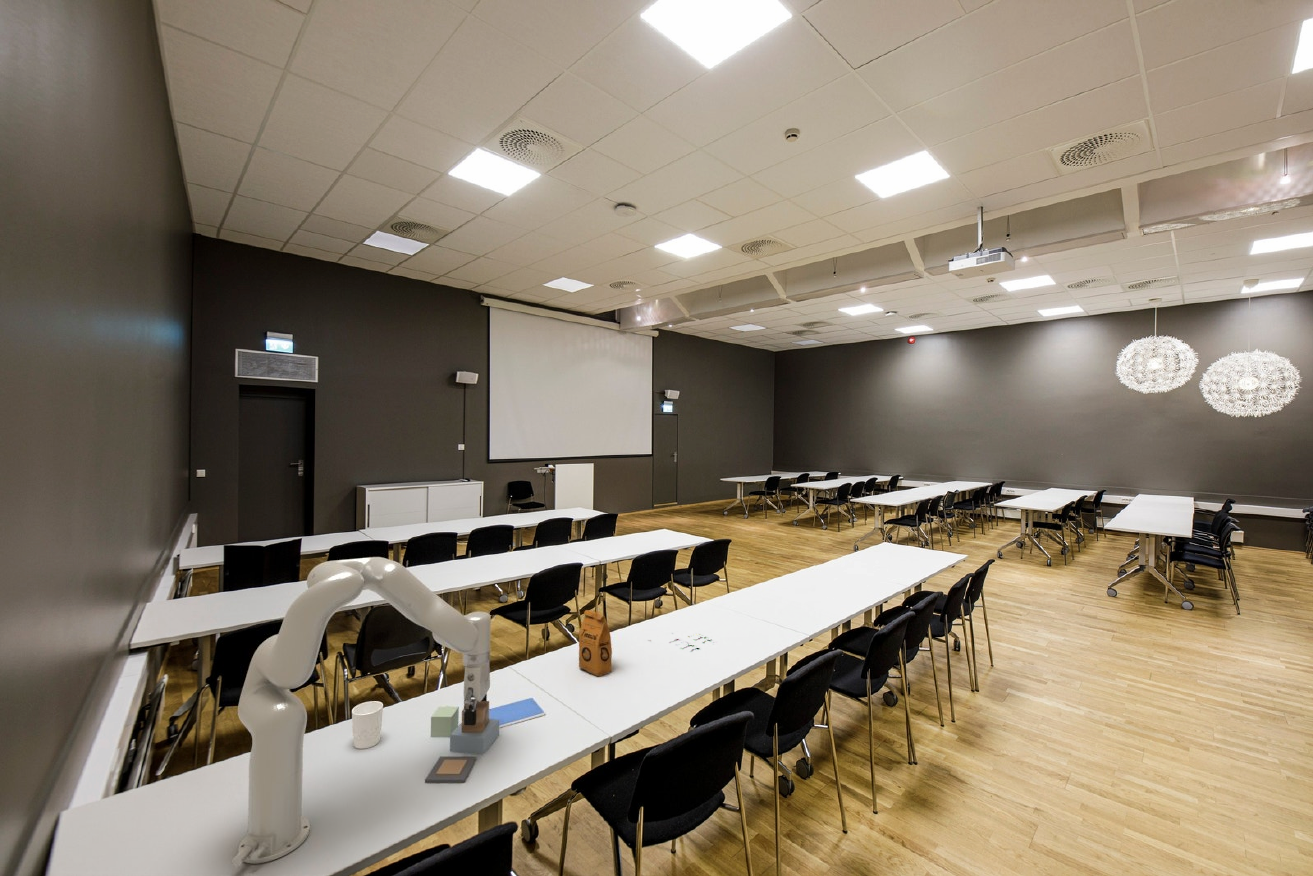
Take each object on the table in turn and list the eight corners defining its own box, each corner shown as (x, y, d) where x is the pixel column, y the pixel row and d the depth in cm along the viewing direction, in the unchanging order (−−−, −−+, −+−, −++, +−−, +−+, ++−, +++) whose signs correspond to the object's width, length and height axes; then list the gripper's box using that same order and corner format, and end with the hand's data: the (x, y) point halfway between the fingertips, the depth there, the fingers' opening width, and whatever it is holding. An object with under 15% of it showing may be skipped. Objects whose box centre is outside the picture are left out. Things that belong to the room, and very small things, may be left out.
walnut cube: (482, 732, 151) (483, 711, 151) (461, 732, 151) (461, 711, 151) (488, 721, 157) (489, 701, 157) (468, 721, 157) (468, 701, 157)
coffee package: (595, 679, 196) (595, 619, 196) (575, 669, 205) (576, 611, 205) (615, 671, 203) (616, 614, 203) (595, 661, 212) (596, 606, 212)
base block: (483, 756, 148) (483, 738, 148) (449, 752, 150) (450, 734, 150) (499, 736, 158) (499, 719, 158) (467, 733, 160) (467, 716, 160)
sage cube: (451, 737, 157) (451, 717, 157) (430, 737, 157) (431, 716, 157) (458, 726, 163) (458, 706, 163) (438, 726, 163) (438, 706, 163)
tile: (464, 783, 136) (464, 778, 136) (424, 782, 136) (425, 778, 136) (476, 759, 146) (476, 755, 146) (440, 759, 146) (440, 755, 146)
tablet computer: (484, 734, 160) (484, 730, 160) (474, 716, 170) (474, 711, 170) (546, 717, 170) (546, 712, 170) (532, 700, 181) (532, 696, 181)
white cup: (347, 752, 149) (348, 716, 149) (355, 737, 156) (356, 702, 156) (378, 748, 151) (379, 712, 151) (385, 733, 158) (385, 699, 158)
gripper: (480, 669, 146) (479, 732, 146) (498, 645, 163) (497, 701, 163) (452, 669, 145) (451, 732, 145) (473, 645, 163) (472, 701, 163)
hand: (475, 715), depth 154 cm, fingers open, 9 cm apart
